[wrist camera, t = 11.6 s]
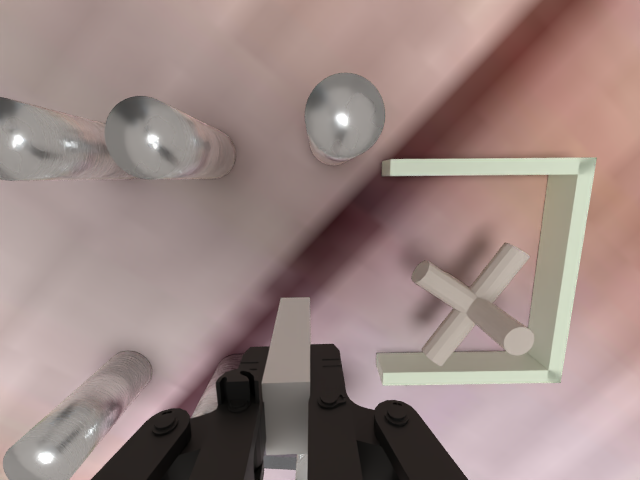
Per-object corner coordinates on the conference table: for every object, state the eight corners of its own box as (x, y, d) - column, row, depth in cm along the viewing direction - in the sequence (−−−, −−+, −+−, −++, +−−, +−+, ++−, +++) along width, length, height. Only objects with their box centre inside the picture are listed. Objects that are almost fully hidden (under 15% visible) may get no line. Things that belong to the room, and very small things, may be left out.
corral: (382, 161, 26) (390, 159, 23) (564, 159, 26) (596, 157, 23) (375, 364, 29) (382, 385, 26) (536, 362, 30) (560, 382, 27)
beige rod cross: (451, 351, 29) (525, 440, 20) (365, 298, 28) (399, 366, 18) (520, 265, 28) (637, 316, 18) (434, 204, 26) (511, 223, 16)
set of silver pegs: (68, 115, 25) (-95, 74, 15) (358, 113, 25) (386, 72, 15) (114, 403, 30) (15, 514, 20) (354, 399, 30) (372, 507, 20)
